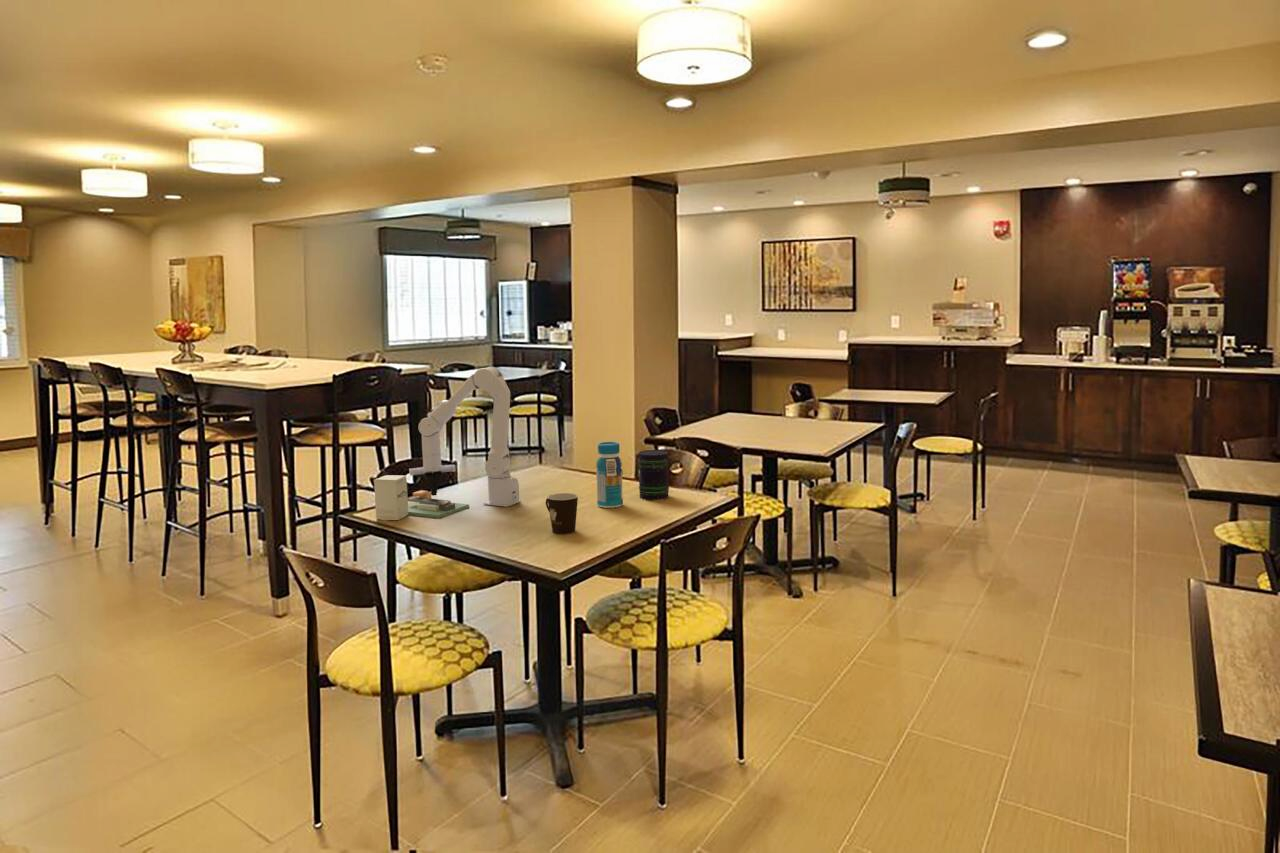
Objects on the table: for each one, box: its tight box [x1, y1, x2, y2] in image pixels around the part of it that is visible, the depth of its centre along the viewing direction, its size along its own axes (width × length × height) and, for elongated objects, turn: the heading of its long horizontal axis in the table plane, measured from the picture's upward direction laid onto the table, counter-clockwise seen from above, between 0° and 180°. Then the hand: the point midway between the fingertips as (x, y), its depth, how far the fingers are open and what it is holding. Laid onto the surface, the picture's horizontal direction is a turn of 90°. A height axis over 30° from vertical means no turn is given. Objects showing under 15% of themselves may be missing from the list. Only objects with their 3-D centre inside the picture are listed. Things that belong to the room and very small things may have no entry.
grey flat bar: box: [408, 496, 452, 505], centre depth 268 cm, size 14×4×1 cm, turn 64°
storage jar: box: [638, 449, 670, 501], centre depth 280 cm, size 10×10×15 cm
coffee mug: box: [545, 492, 579, 535], centre depth 241 cm, size 12×9×10 cm
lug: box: [412, 489, 432, 499], centre depth 273 cm, size 3×5×4 cm, turn 154°
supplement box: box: [373, 474, 409, 521], centre depth 259 cm, size 7×7×13 cm
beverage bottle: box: [595, 441, 624, 509], centre depth 268 cm, size 8×8×20 cm
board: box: [408, 502, 470, 519], centre depth 268 cm, size 18×15×2 cm
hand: (433, 494), depth 278 cm, fingers closed
